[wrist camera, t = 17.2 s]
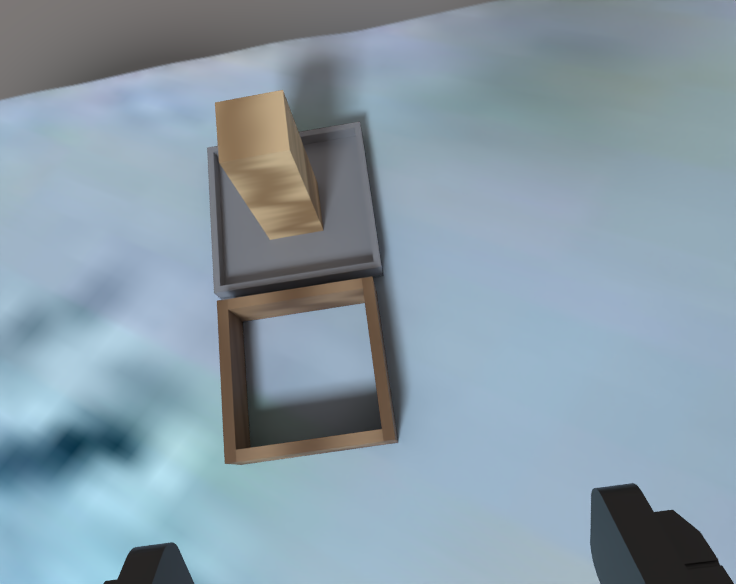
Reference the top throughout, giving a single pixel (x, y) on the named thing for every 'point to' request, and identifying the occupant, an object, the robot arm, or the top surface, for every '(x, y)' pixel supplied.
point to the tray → (306, 251)
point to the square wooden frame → (235, 370)
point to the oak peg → (268, 163)
